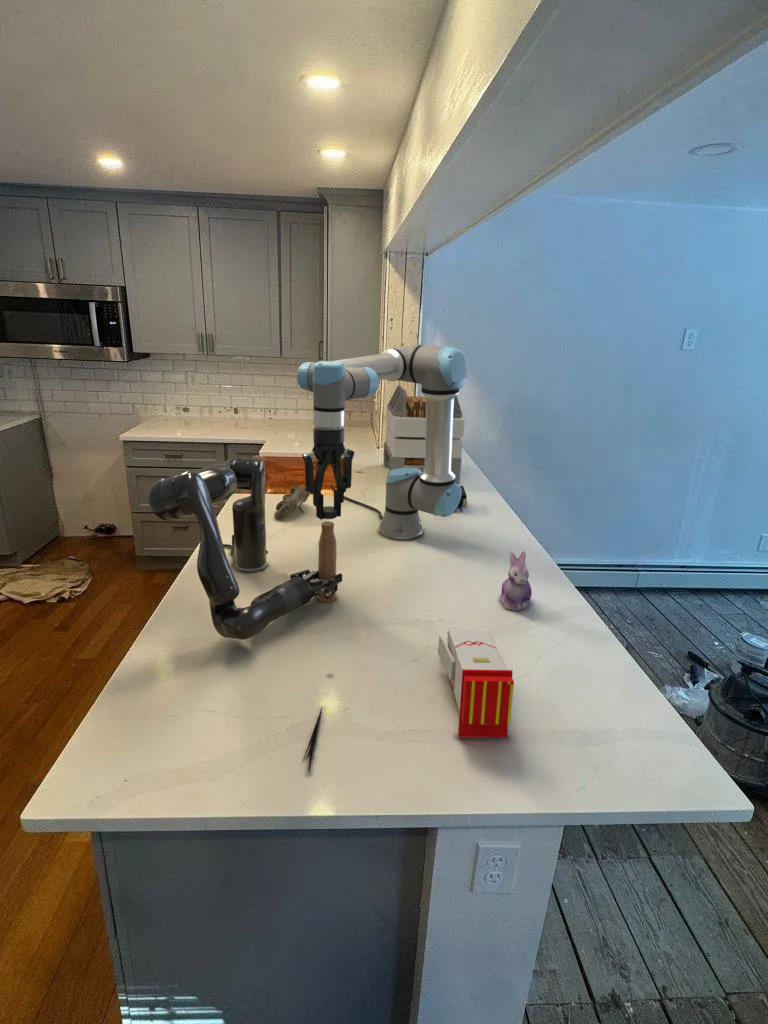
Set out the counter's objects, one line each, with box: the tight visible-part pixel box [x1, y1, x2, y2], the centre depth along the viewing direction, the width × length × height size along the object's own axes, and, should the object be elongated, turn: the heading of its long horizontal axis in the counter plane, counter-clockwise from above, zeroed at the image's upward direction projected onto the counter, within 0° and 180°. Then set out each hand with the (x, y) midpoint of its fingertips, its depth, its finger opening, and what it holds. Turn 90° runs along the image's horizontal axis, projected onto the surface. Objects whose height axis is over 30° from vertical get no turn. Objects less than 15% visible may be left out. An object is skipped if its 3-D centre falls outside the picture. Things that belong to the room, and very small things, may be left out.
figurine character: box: [456, 485, 468, 512], centre depth 228 cm, size 7×8×15 cm
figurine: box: [500, 550, 533, 611], centre depth 153 cm, size 9×10×15 cm
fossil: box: [273, 484, 311, 521], centre depth 215 cm, size 22×10×15 cm
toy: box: [437, 628, 515, 738], centre depth 117 cm, size 12×13×30 cm
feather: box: [301, 673, 332, 771], centre depth 108 cm, size 2×28×2 cm
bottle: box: [317, 520, 338, 602], centre depth 151 cm, size 5×5×22 cm
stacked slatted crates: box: [383, 384, 465, 484], centre depth 268 cm, size 34×33×41 cm
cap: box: [323, 505, 338, 520], centre depth 146 cm, size 4×4×2 cm
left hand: (333, 573), depth 154 cm, fingers closed on bottle, 4 cm apart
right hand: (328, 516), depth 147 cm, fingers closed on cap, 4 cm apart
